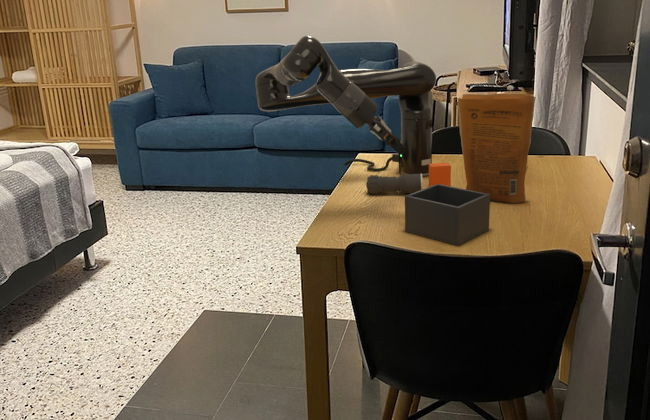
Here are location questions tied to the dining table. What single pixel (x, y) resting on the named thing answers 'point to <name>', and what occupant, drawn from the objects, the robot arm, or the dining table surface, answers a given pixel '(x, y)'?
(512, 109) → the pancake mix bag
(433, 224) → the trash bin
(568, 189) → the dining table surface
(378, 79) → the robot arm
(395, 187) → the flashlight
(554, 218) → the dining table surface
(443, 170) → the block
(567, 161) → the dining table surface
